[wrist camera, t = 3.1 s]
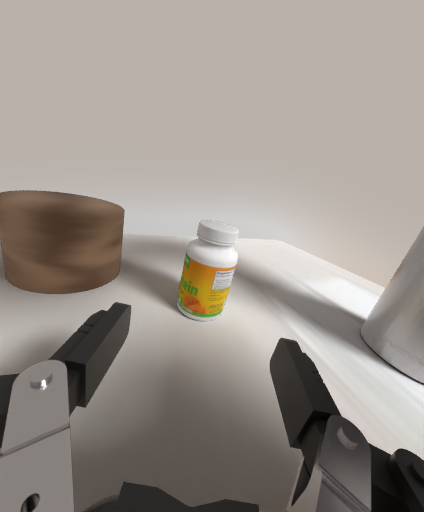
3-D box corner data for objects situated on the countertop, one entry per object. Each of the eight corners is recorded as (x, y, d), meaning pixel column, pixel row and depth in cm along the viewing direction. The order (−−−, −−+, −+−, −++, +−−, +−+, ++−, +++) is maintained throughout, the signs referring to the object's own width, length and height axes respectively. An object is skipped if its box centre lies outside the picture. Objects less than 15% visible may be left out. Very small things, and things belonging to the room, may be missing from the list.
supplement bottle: (167, 297, 23) (182, 215, 20) (204, 290, 27) (222, 219, 23) (192, 328, 19) (214, 233, 16) (231, 315, 23) (257, 234, 19)
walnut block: (116, 252, 31) (119, 200, 29) (124, 290, 23) (130, 222, 20) (22, 249, 26) (15, 185, 23) (-15, 299, 17) (-33, 206, 14)
